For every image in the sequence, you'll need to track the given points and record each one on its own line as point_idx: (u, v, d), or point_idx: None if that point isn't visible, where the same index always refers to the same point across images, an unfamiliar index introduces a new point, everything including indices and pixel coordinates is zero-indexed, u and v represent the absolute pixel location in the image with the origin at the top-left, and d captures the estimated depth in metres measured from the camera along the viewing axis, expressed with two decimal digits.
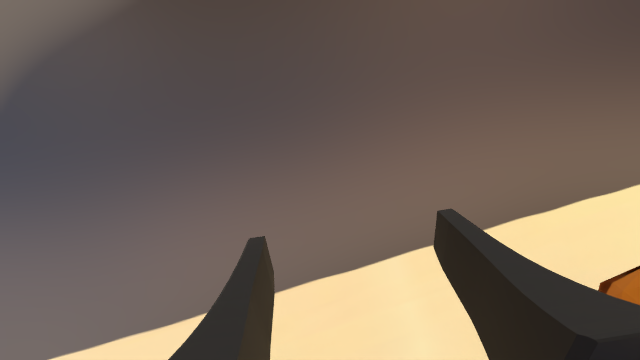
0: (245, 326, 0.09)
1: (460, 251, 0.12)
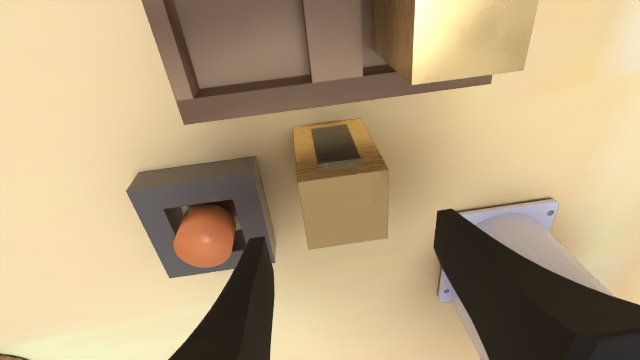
0: (245, 326, 0.09)
1: (460, 251, 0.12)
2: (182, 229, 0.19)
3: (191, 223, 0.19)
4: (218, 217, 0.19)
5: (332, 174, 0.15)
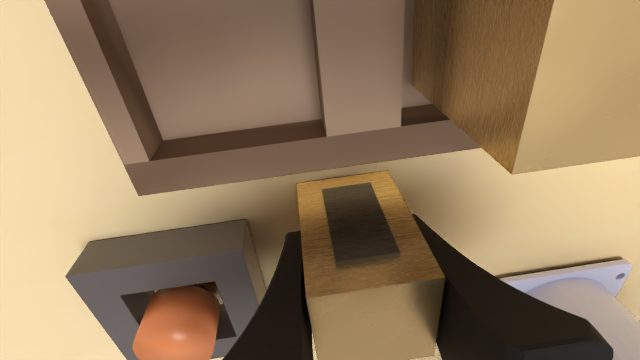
0: (301, 317, 0.09)
1: None
2: (143, 329, 0.13)
3: (156, 320, 0.14)
4: (195, 306, 0.14)
5: (359, 283, 0.10)
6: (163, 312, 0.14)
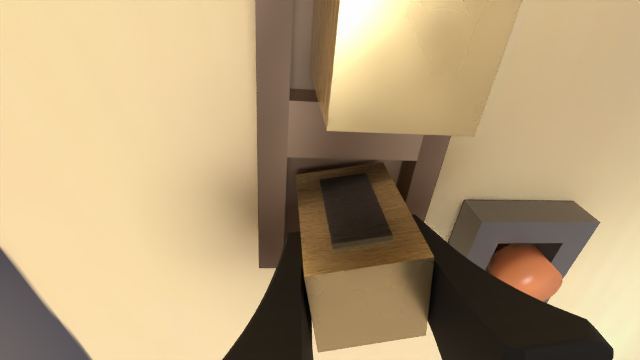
0: (301, 317, 0.09)
1: None
2: None
3: None
4: (509, 262, 0.19)
5: (354, 263, 0.10)
6: None
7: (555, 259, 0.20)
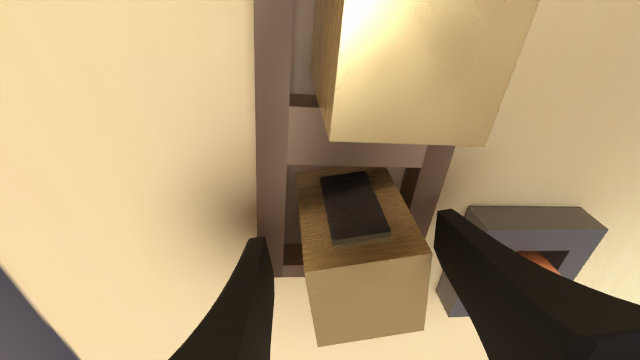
0: (245, 326, 0.09)
1: (460, 251, 0.12)
2: None
3: None
4: None
5: (353, 259, 0.11)
6: None
7: (561, 266, 0.19)
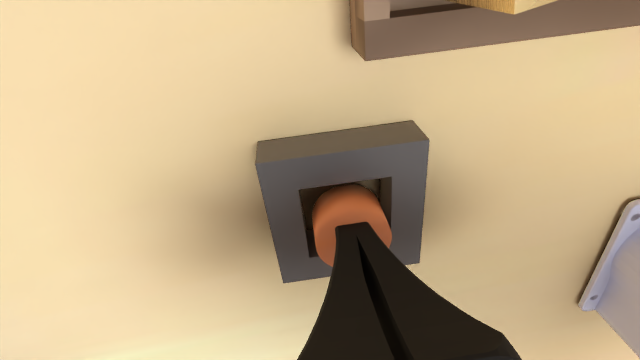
0: (373, 306, 0.09)
1: (364, 266, 0.12)
2: (333, 216, 0.13)
3: (344, 208, 0.13)
4: (372, 201, 0.14)
5: None
6: (347, 203, 0.14)
7: None
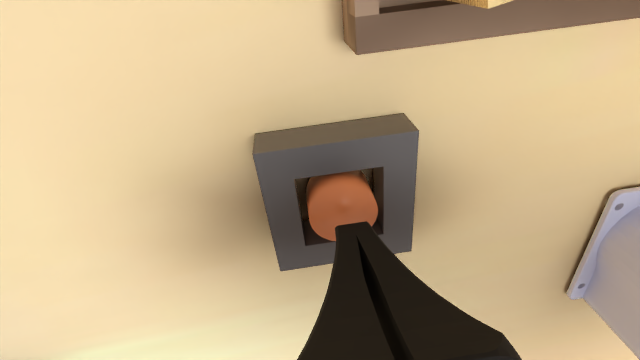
0: (373, 306, 0.09)
1: (364, 265, 0.12)
2: (324, 191, 0.15)
3: (334, 183, 0.15)
4: (360, 178, 0.16)
5: None
6: (337, 179, 0.15)
7: None
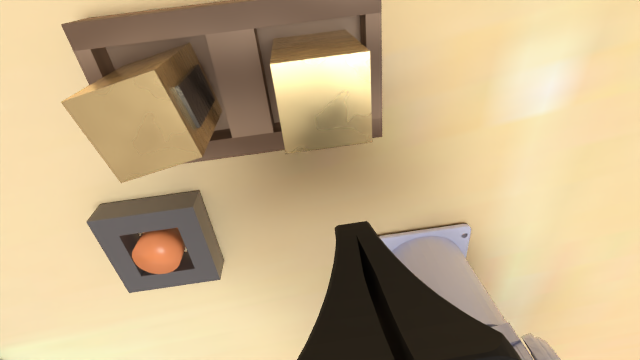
0: (373, 306, 0.09)
1: (364, 265, 0.12)
2: (138, 243, 0.23)
3: (146, 238, 0.23)
4: (169, 233, 0.24)
5: (176, 105, 0.14)
6: (150, 235, 0.23)
7: (178, 272, 0.25)
